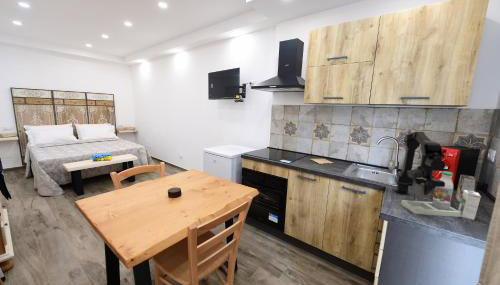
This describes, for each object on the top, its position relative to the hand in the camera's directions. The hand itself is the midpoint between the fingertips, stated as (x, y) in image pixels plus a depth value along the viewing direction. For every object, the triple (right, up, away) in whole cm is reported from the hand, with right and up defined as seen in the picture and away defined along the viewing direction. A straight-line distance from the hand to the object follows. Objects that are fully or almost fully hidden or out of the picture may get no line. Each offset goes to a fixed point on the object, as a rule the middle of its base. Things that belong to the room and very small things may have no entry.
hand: (421, 192), depth 112 cm
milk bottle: (+23, -10, +13) cm, 29 cm away
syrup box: (+21, -13, -3) cm, 25 cm away
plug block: (0, -2, 0) cm, 2 cm away
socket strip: (+5, -11, +2) cm, 12 cm away
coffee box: (+42, -10, +18) cm, 47 cm away
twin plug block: (+11, -10, +1) cm, 15 cm away
